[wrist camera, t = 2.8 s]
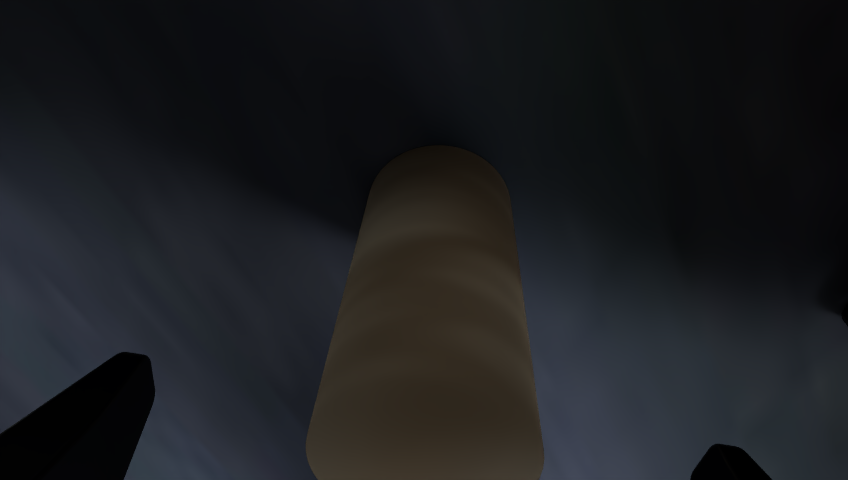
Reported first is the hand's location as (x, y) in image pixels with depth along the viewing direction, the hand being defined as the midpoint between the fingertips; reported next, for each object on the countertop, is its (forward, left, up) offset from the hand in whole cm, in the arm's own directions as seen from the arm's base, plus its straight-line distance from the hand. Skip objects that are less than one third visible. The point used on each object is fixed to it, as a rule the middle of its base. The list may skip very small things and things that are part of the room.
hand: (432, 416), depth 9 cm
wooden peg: (0, 0, -6) cm, 6 cm away
